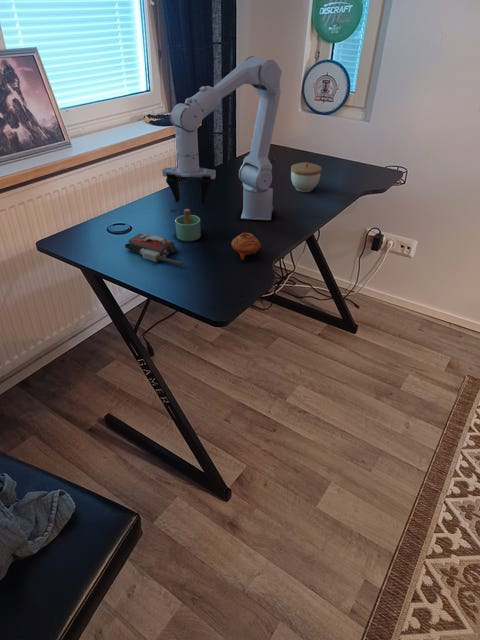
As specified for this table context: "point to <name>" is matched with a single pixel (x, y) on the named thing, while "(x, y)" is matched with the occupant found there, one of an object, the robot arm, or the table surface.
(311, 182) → the trinket box
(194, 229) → the bucket
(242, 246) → the pot
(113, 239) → the table surface
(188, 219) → the rubber stamp
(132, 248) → the red grey blocky piece
